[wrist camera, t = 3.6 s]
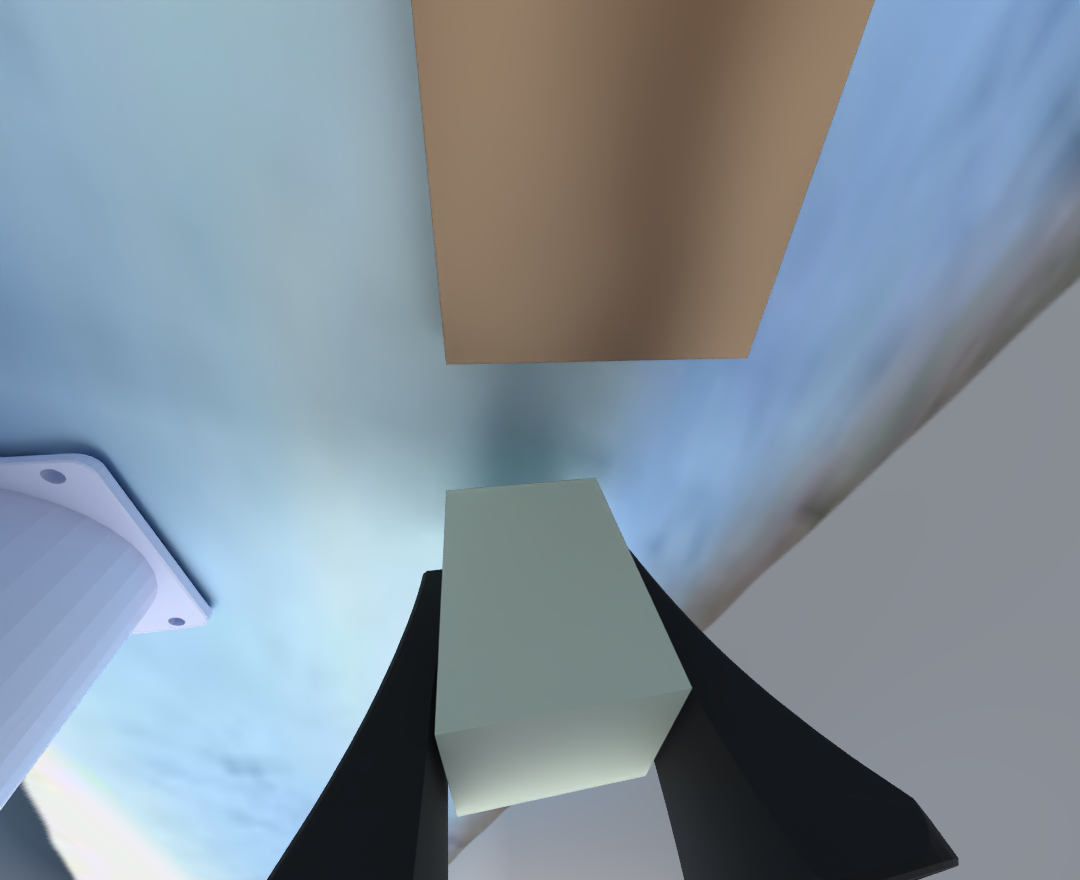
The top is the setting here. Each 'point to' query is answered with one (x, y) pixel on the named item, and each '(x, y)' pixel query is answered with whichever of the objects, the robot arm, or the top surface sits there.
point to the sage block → (546, 648)
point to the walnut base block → (620, 167)
